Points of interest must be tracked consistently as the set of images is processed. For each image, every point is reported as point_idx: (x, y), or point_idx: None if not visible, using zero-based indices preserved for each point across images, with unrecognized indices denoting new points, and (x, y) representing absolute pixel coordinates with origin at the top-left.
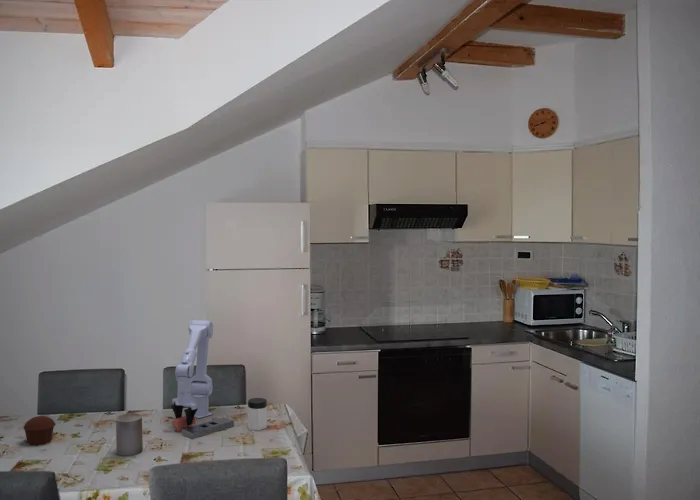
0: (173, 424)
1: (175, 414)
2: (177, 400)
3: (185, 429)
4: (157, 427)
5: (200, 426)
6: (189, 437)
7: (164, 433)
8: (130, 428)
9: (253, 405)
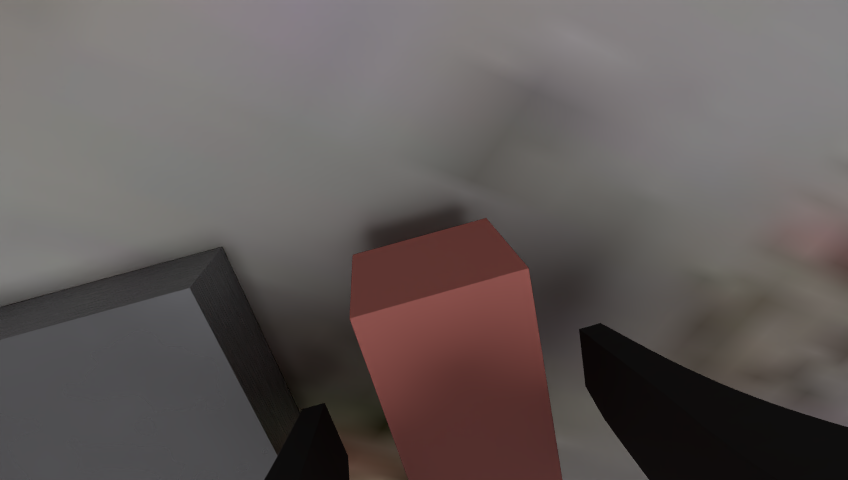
0: (478, 233)
1: (675, 385)
2: None
3: (153, 328)
4: (744, 59)
5: None
6: (46, 297)
7: (434, 44)
8: None
9: None
